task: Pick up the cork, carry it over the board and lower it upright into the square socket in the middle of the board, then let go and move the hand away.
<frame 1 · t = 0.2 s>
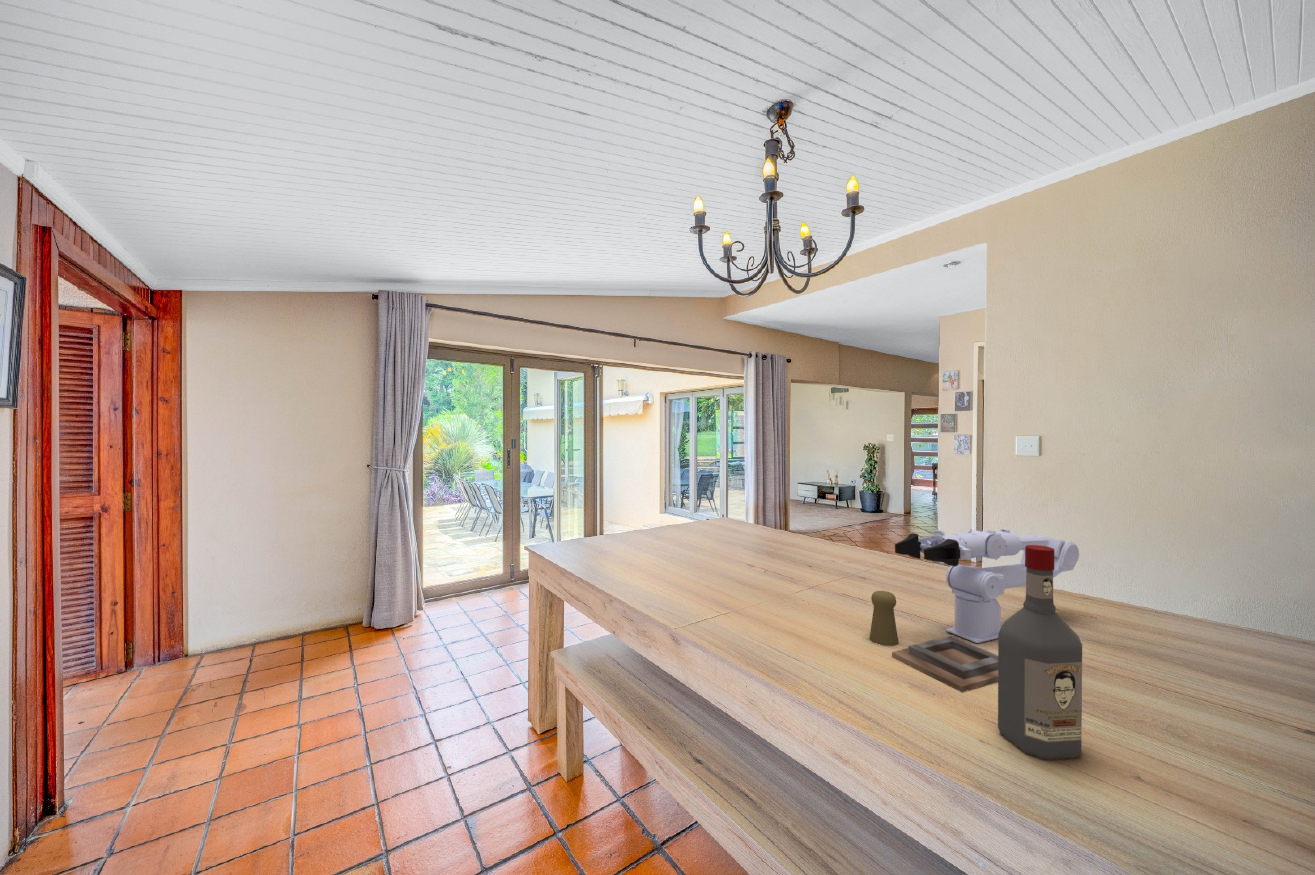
hand: (910, 551, 113), 21 cm above the table, tool horizontal, fingers open, 7 cm apart
socket board: (956, 664, 106), on the table
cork: (883, 641, 118), on the table
liquor: (1038, 743, 80), on the table
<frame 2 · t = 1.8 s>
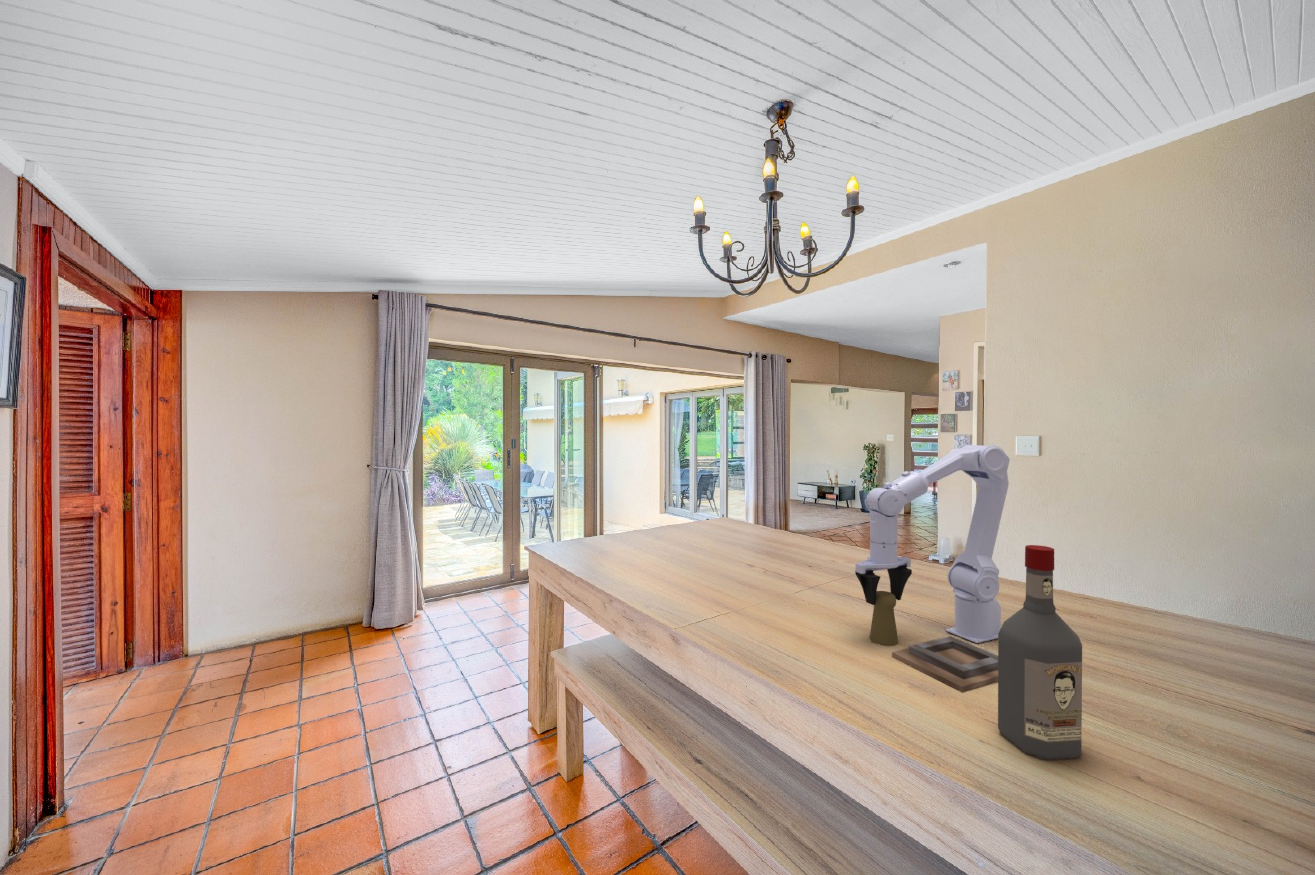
hand: (883, 601, 118), 9 cm above the table, tool pointing down, fingers open, 7 cm apart
nothing on the table moved.
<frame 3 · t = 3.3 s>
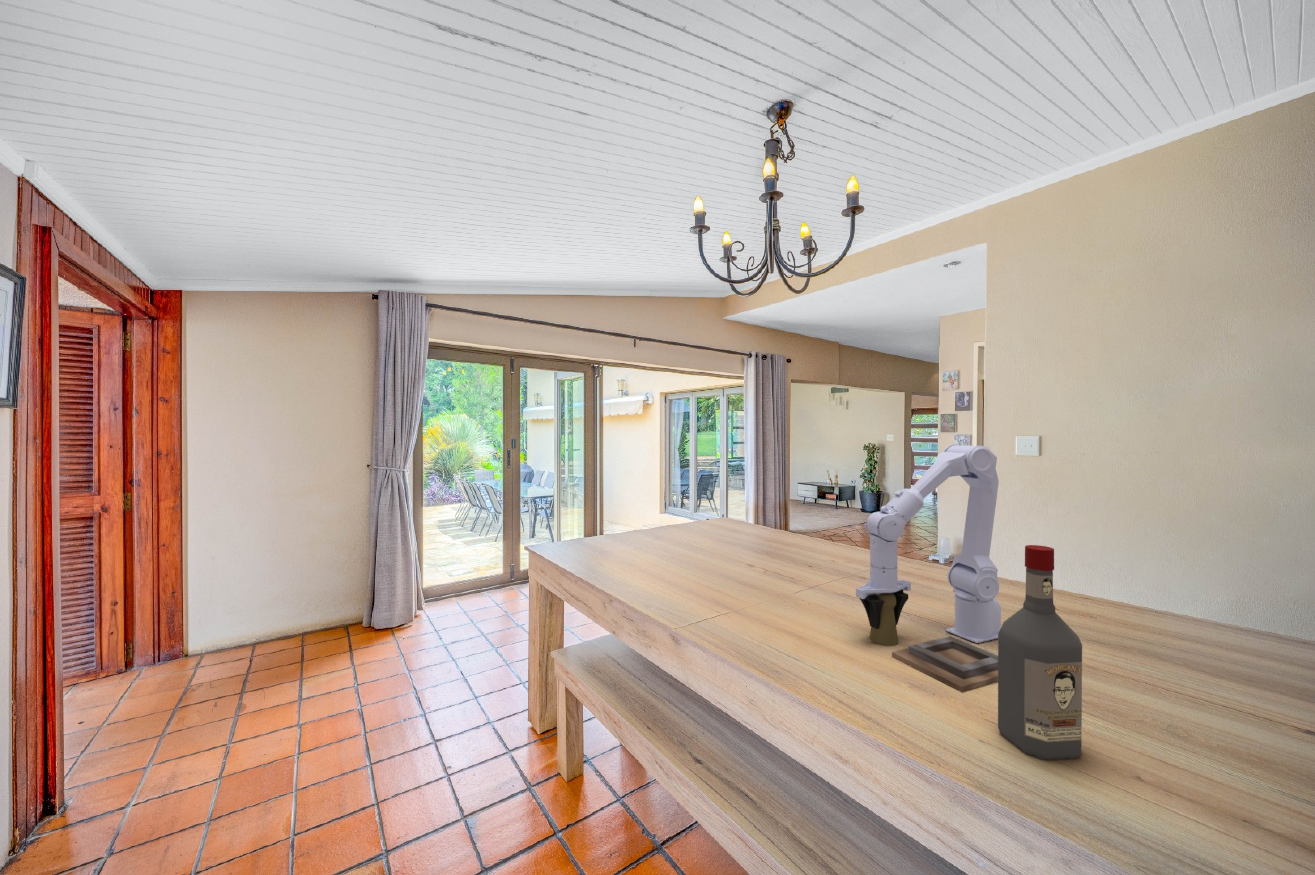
hand: (883, 625, 118), 3 cm above the table, tool pointing down, fingers closed on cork, 5 cm apart
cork: (883, 641, 118), on the table, touching gripper
everything else where it was.
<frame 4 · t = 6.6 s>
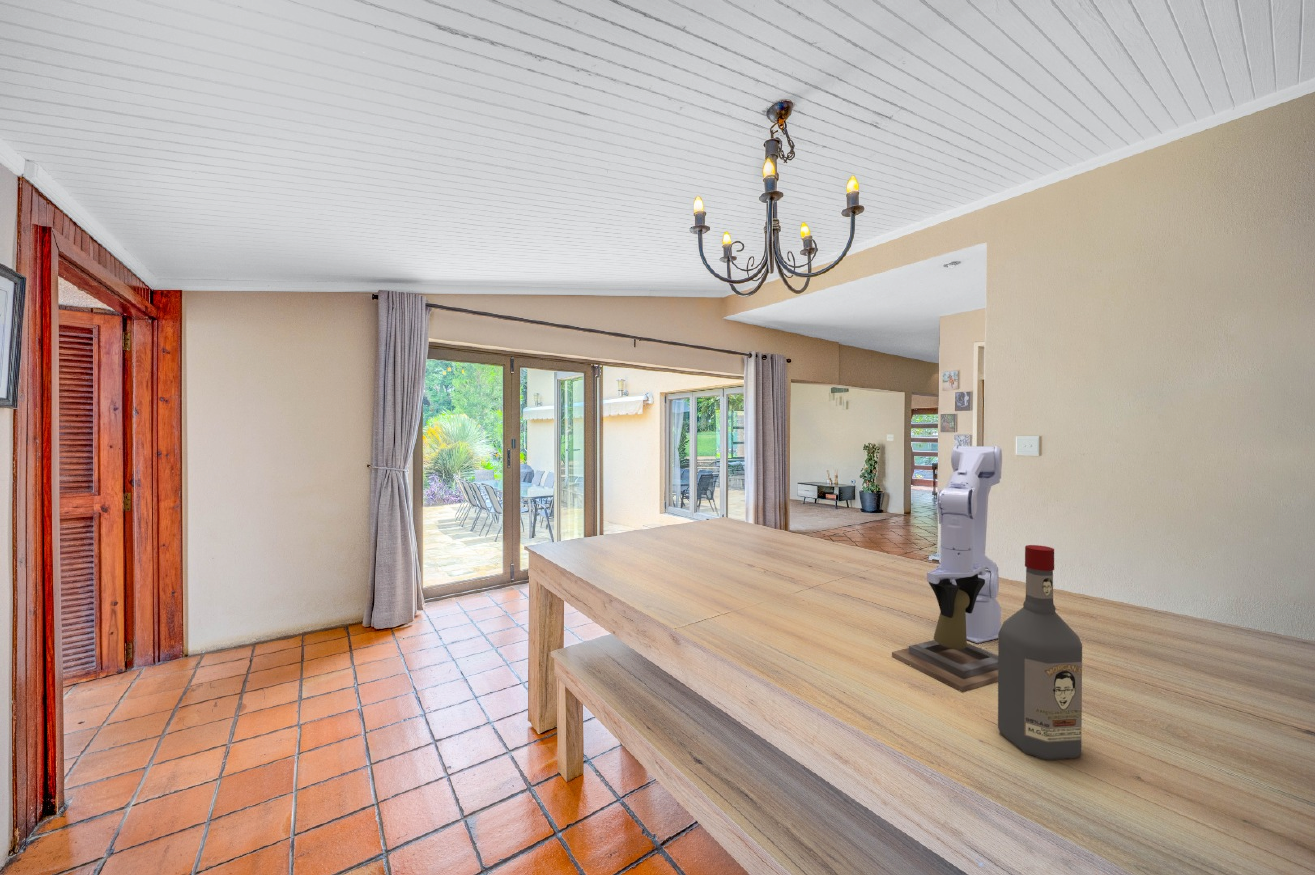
hand: (956, 614, 105), 10 cm above the table, tool pointing down, fingers closed on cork, 5 cm apart
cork: (949, 642, 107), point 4 cm above the table, touching gripper
everything else where it was.
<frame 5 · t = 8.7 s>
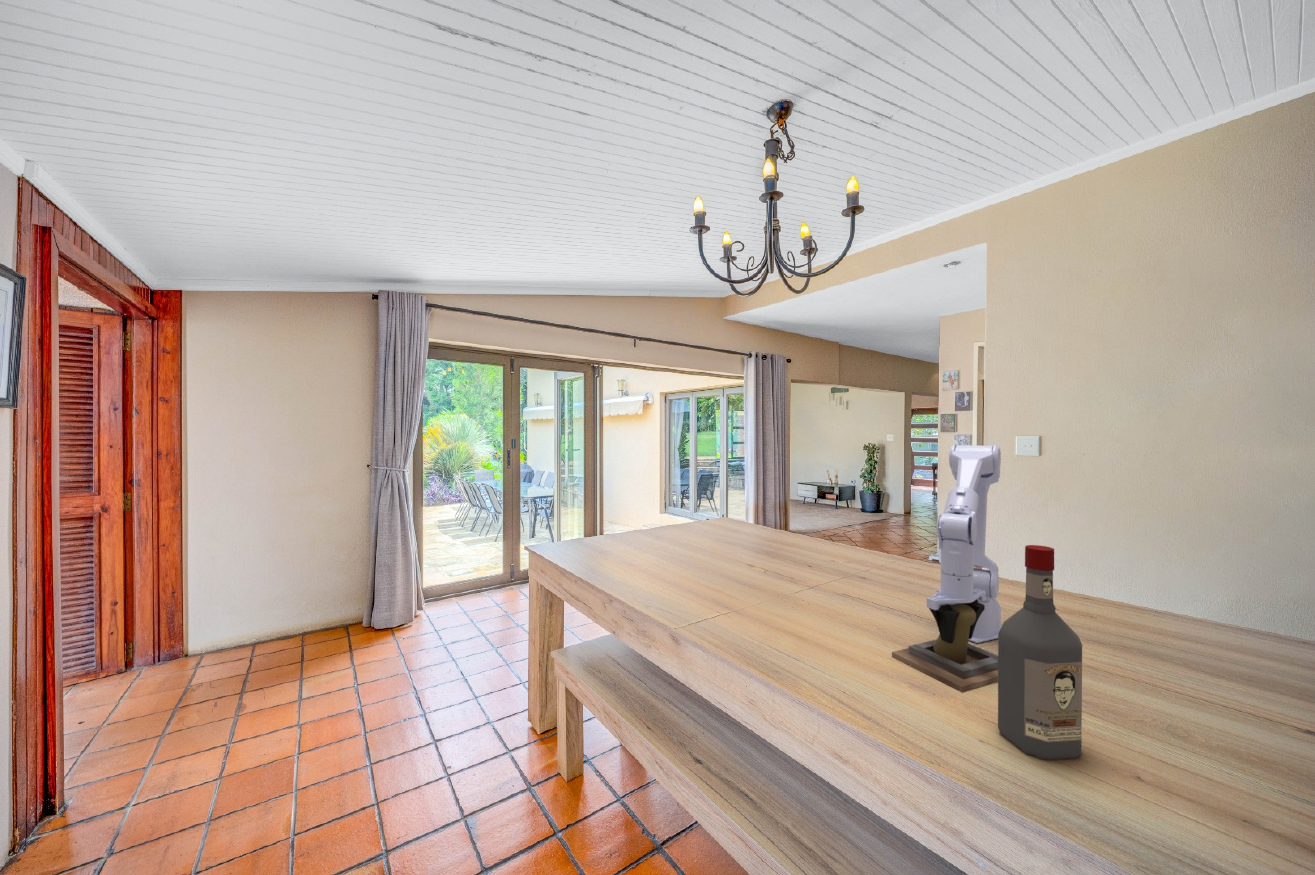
hand: (956, 639, 106), 5 cm above the table, tool pointing down, fingers closed on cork, 5 cm apart
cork: (949, 654, 107), point 2 cm above the table, touching gripper, socket board
everything else where it was.
when the fingers open (5 cm above the table, at t = 10.1 s): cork stays where it is, resting on socket board.
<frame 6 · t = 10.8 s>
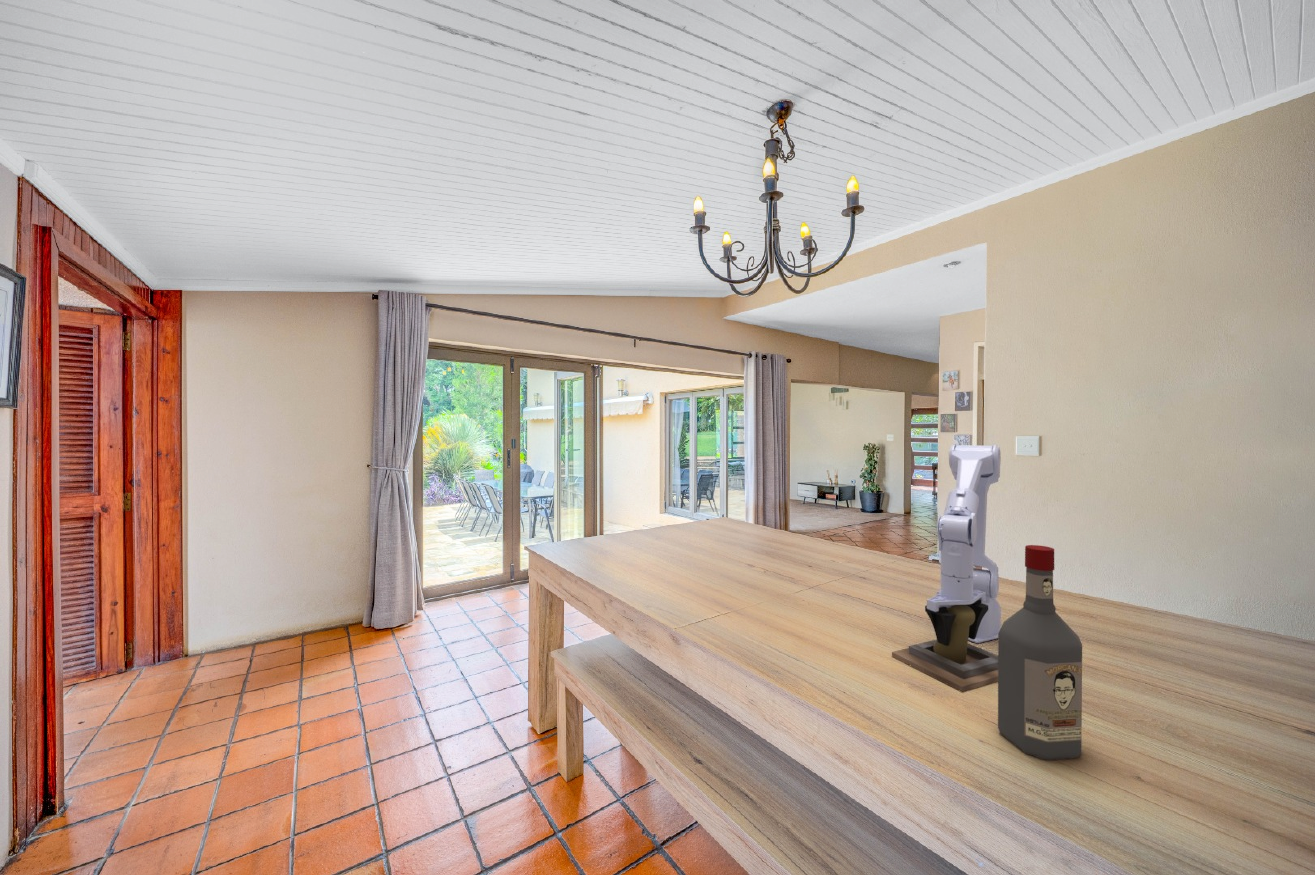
hand: (956, 640, 106), 5 cm above the table, tool pointing down, fingers open, 7 cm apart
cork: (949, 654, 107), point 2 cm above the table, touching socket board
everything else where it was.
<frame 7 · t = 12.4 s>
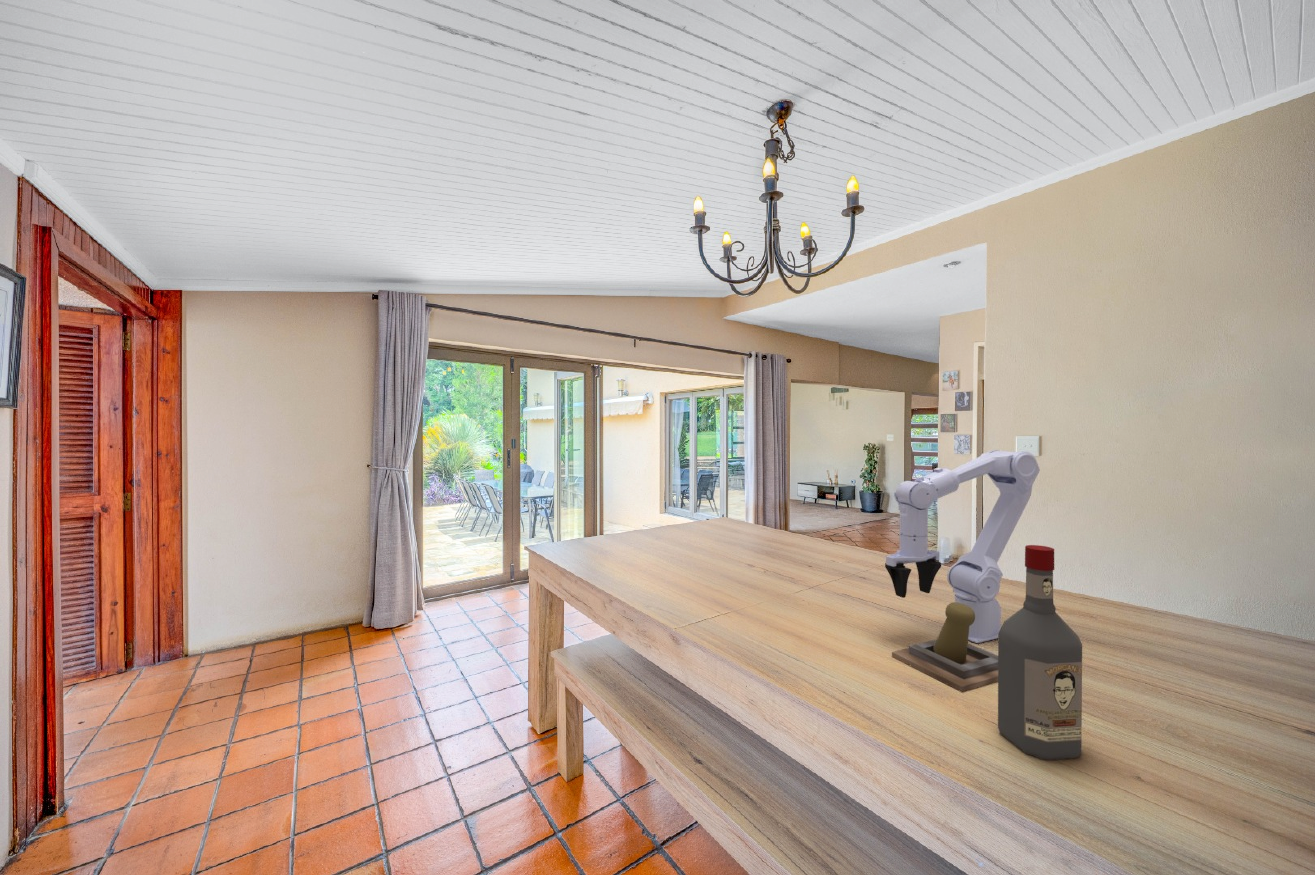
hand: (912, 594, 118), 10 cm above the table, tool pointing down, fingers open, 7 cm apart
nothing on the table moved.
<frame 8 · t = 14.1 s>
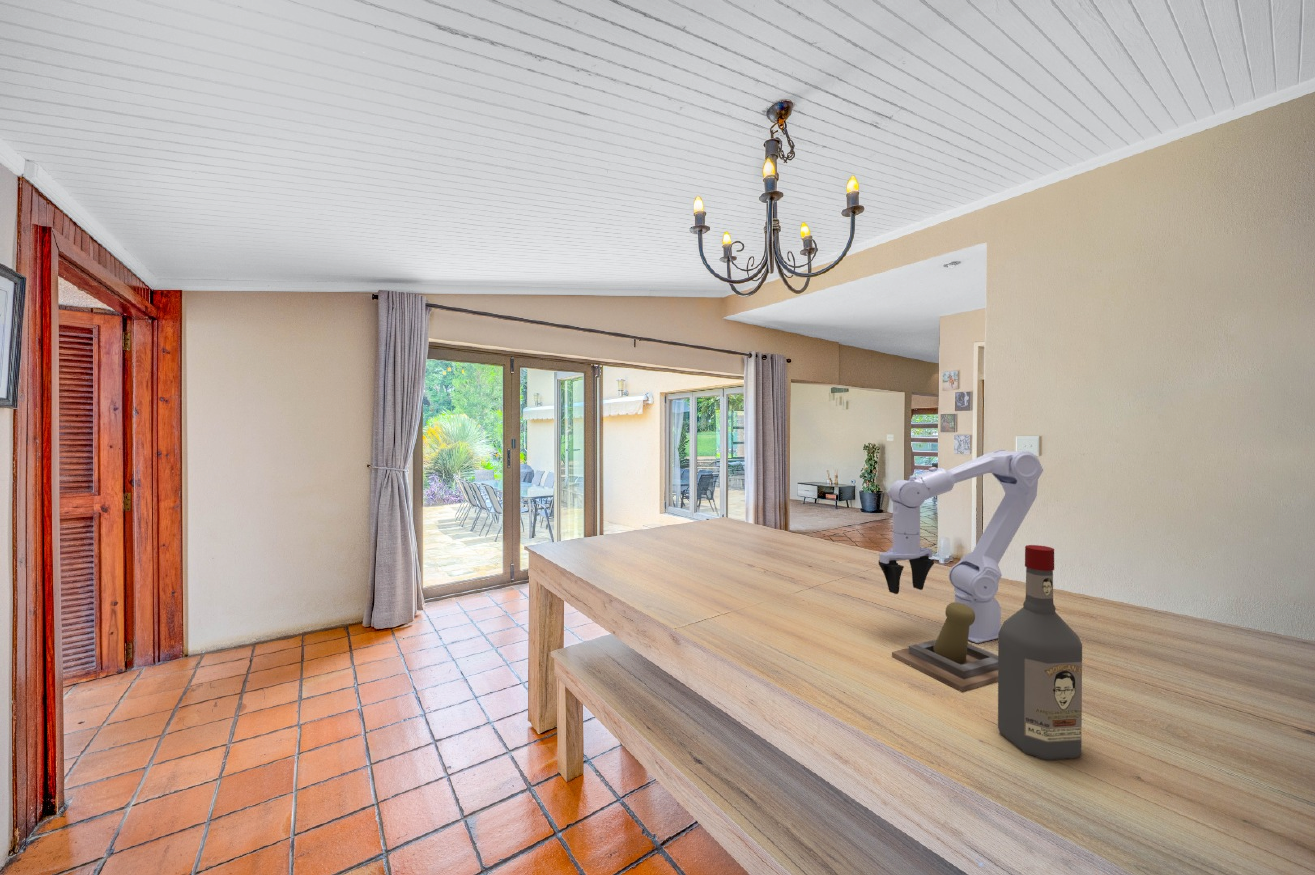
hand: (905, 590, 120), 10 cm above the table, tool pointing down, fingers open, 7 cm apart
nothing on the table moved.
at the end: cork 1.4 cm off-centre on the socket board, point 1.6 cm above the socket board's base; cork tilted 15°; the gripper is holding nothing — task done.
